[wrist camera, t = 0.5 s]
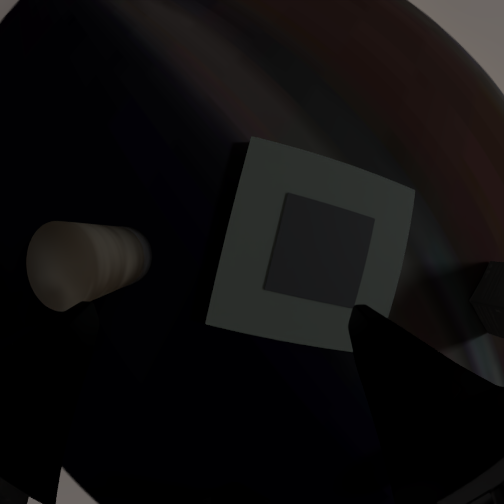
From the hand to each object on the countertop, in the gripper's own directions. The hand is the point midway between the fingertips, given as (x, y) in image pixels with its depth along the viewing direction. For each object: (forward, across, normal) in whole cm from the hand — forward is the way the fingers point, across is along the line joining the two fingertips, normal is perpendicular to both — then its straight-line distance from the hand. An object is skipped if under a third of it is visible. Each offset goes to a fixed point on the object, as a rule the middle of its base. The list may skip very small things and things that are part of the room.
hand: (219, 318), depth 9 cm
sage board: (+15, -8, +5) cm, 17 cm away
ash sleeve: (+14, +10, +5) cm, 18 cm away
